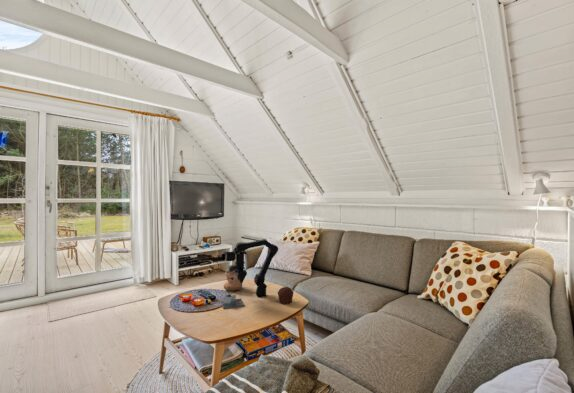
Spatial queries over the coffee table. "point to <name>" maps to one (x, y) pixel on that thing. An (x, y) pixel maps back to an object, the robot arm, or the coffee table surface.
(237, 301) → the flange plate
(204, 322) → the coffee table surface
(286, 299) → the muffin
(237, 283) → the ceramic jug
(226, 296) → the collar
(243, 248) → the robot arm
